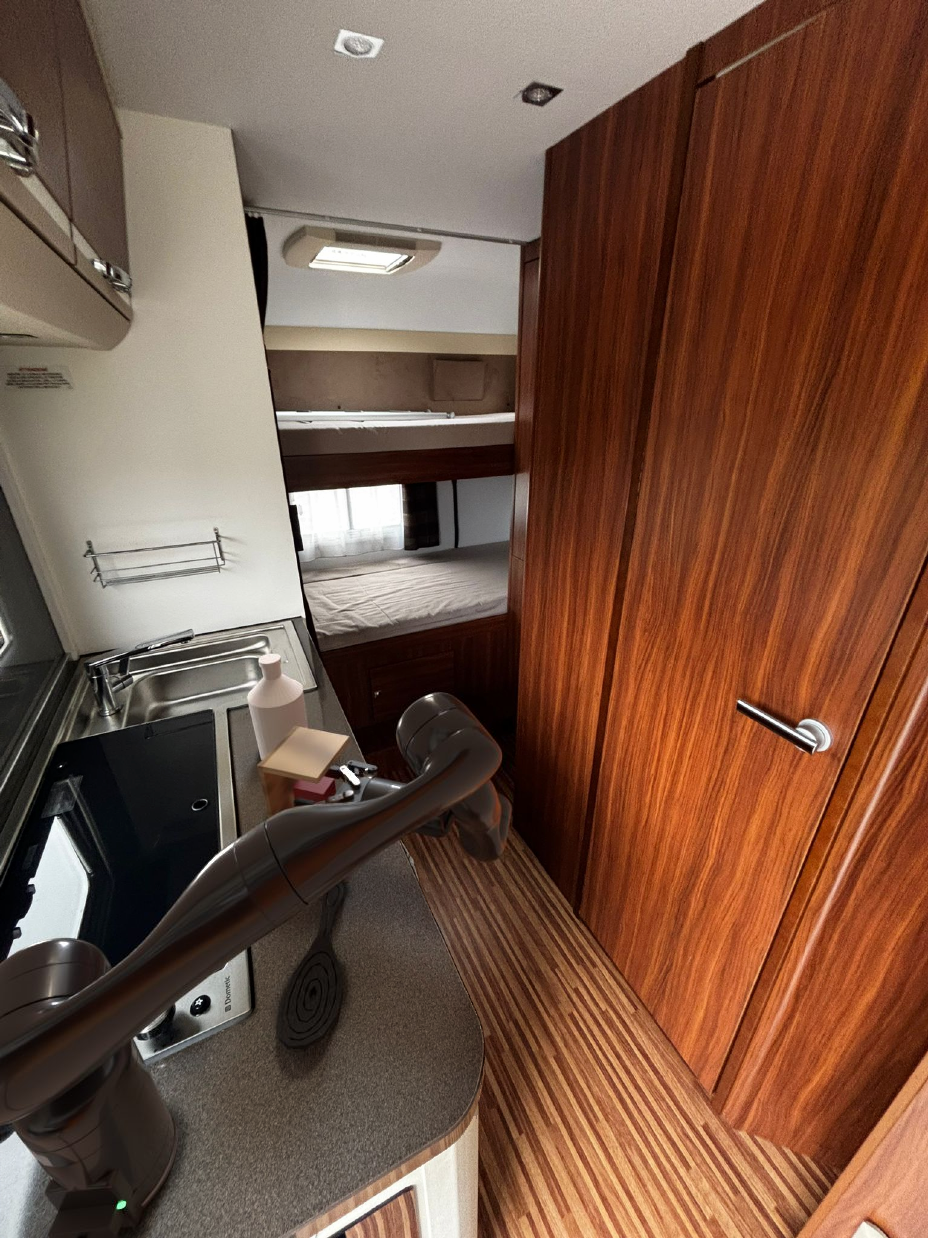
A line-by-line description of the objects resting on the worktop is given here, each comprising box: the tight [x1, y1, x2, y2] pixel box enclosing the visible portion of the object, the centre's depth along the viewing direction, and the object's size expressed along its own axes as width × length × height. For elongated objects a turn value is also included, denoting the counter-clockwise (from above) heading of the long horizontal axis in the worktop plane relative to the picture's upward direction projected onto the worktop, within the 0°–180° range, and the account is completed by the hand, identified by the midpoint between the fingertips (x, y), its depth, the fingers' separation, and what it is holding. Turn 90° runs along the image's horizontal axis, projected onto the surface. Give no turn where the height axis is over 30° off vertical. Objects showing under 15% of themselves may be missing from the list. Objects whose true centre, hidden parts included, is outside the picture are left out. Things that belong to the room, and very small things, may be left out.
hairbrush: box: [276, 881, 345, 1051], centre depth 74 cm, size 8×4×25 cm
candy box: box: [293, 776, 337, 803], centre depth 89 cm, size 4×6×10 cm, turn 75°
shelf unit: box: [257, 726, 351, 819], centre depth 89 cm, size 11×11×22 cm
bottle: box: [246, 653, 309, 761], centre depth 112 cm, size 12×12×25 cm
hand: (308, 786), depth 88 cm, fingers open, 8 cm apart
